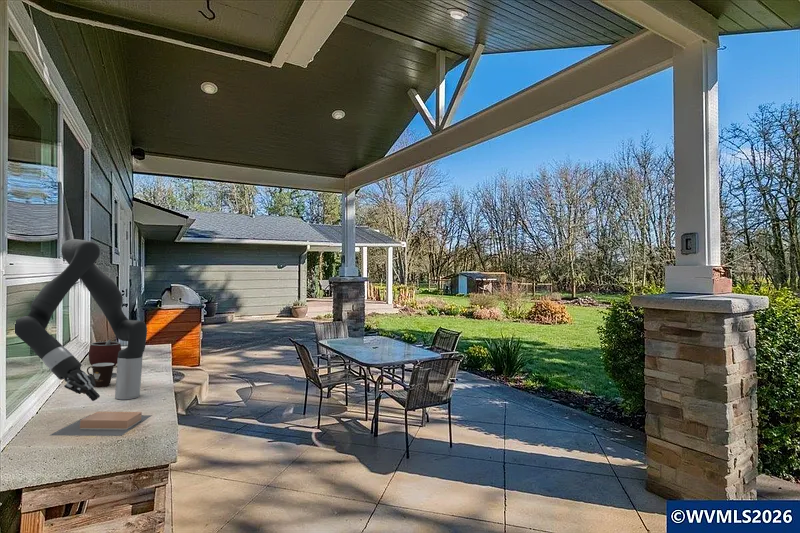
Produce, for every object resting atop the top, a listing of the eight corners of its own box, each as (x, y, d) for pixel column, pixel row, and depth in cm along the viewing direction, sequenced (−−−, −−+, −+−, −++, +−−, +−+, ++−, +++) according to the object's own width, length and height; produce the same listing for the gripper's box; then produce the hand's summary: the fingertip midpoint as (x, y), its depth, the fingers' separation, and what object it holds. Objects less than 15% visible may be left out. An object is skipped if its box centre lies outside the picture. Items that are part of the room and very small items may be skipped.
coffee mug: (116, 385, 207) (117, 364, 207) (96, 388, 199) (97, 367, 200) (103, 381, 212) (105, 361, 213) (83, 385, 205) (85, 363, 206)
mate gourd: (84, 375, 224) (87, 336, 224) (116, 372, 233) (118, 335, 234) (90, 381, 212) (93, 340, 213) (123, 378, 222) (126, 338, 223)
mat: (90, 416, 161) (90, 414, 162) (152, 416, 164) (152, 415, 164) (48, 436, 140) (49, 435, 140) (121, 437, 142) (121, 435, 142)
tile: (97, 411, 156) (141, 412, 158) (97, 419, 156) (141, 420, 158) (80, 420, 146) (127, 420, 148) (79, 429, 146) (126, 429, 148)
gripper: (57, 358, 145) (94, 396, 146) (82, 352, 158) (115, 386, 159) (39, 374, 144) (76, 412, 145) (65, 366, 157) (99, 401, 158)
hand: (96, 398), depth 152 cm, fingers closed
